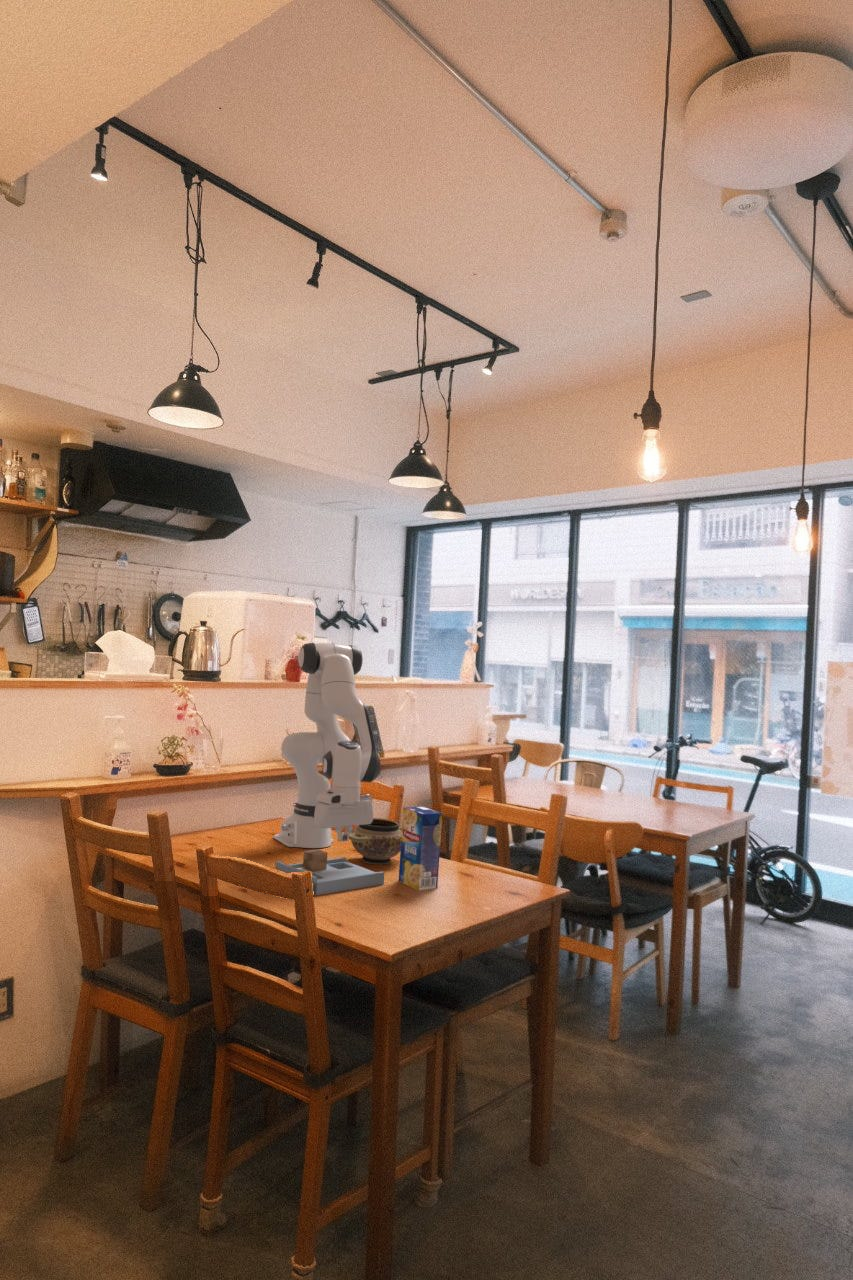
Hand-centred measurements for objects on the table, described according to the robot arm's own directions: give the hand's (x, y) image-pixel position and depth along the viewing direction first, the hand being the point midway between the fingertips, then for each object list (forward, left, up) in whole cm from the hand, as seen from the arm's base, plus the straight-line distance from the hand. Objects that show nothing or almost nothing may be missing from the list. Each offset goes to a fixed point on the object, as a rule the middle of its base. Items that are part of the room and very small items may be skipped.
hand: (343, 840), depth 253 cm
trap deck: (+4, -7, -10) cm, 13 cm away
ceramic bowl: (-8, +20, -10) cm, 24 cm away
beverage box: (+19, +14, -10) cm, 26 cm away
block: (-1, -9, -8) cm, 12 cm away
